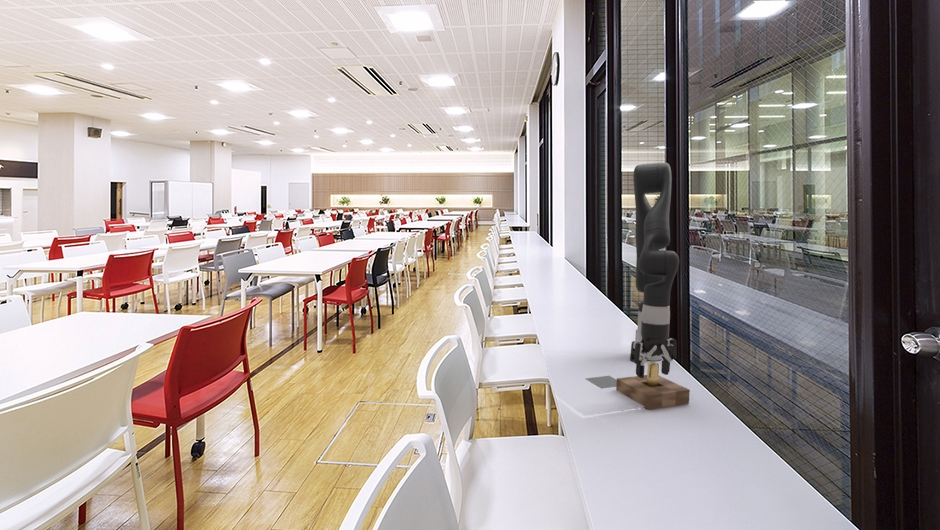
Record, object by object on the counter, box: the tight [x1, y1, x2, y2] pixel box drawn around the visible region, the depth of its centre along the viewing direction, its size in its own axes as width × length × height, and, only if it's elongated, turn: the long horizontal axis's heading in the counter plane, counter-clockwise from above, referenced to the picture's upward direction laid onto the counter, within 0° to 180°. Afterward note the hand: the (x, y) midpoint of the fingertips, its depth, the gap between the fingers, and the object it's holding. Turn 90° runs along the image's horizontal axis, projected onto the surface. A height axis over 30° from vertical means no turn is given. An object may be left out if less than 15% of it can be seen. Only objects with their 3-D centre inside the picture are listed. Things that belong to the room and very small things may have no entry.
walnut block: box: [615, 374, 690, 411], centre depth 141 cm, size 14×14×4 cm
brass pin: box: [646, 361, 660, 387], centre depth 140 cm, size 3×3×10 cm
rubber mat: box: [584, 375, 617, 389], centre depth 152 cm, size 9×9×1 cm
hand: (652, 375), depth 140 cm, fingers open, 8 cm apart
